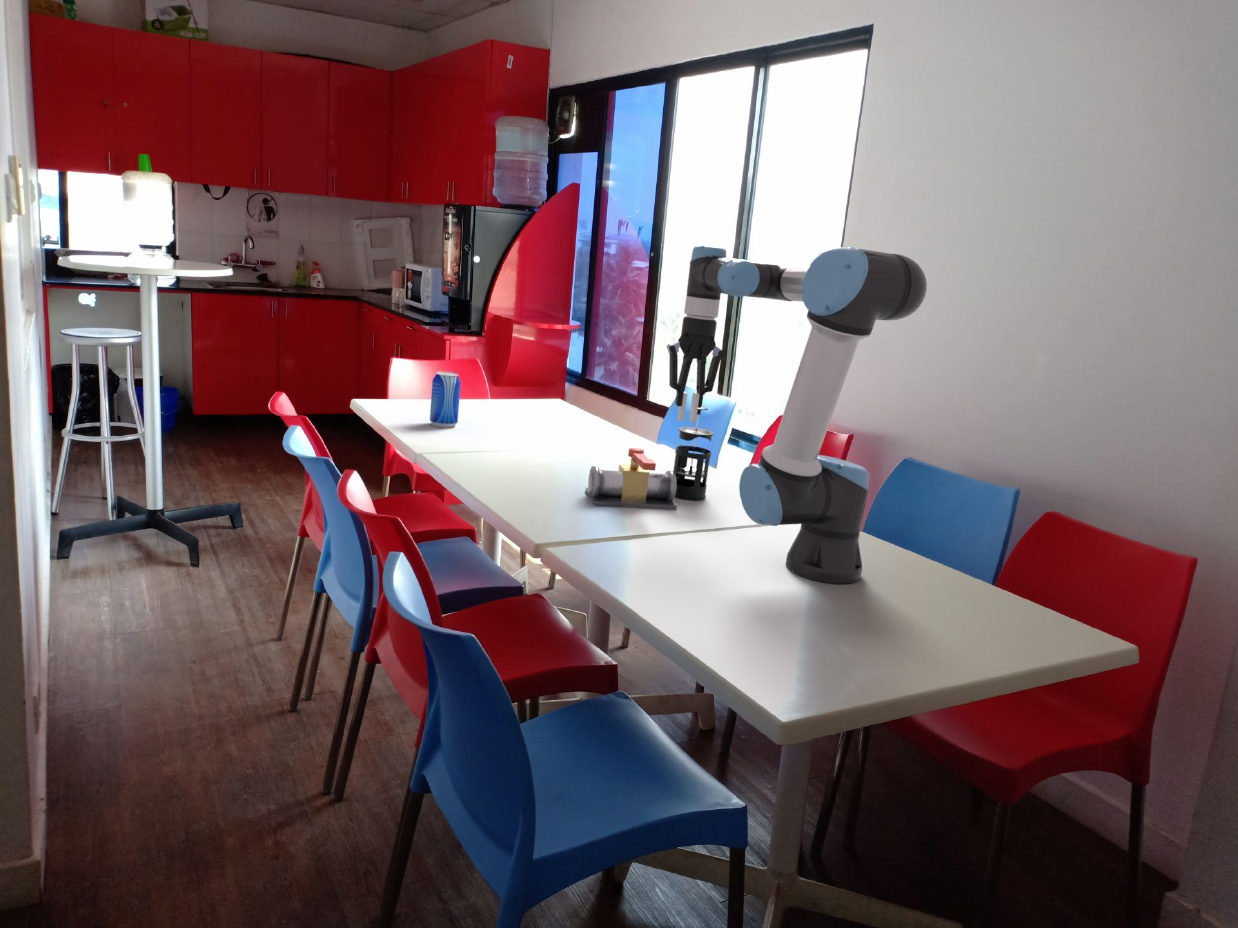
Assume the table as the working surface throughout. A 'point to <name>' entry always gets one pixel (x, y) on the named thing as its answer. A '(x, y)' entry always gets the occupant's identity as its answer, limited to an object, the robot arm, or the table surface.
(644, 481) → the valve body
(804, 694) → the table surface
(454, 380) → the beer can
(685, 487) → the french press
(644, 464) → the lever
